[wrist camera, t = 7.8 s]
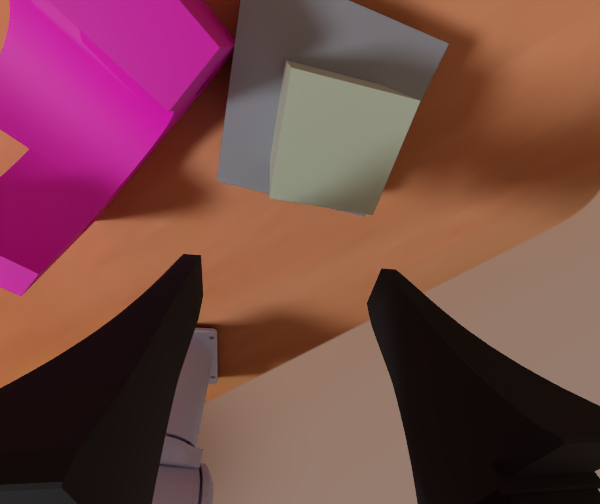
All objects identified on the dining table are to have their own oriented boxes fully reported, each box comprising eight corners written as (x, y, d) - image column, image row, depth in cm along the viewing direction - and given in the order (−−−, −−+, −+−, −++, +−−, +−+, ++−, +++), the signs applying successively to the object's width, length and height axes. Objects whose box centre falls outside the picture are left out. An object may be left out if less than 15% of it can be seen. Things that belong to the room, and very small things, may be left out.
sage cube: (349, 175, 16) (372, 215, 12) (269, 160, 15) (269, 198, 11) (379, 84, 13) (420, 100, 10) (285, 59, 12) (291, 67, 9)
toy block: (125, -98, 11) (-34, -250, 6) (241, 45, 15) (219, 47, 9) (-10, 153, 17) (-168, 215, 11) (96, 219, 20) (21, 296, 14)
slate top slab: (356, 201, 19) (364, 216, 17) (221, 168, 17) (216, 181, 15) (428, 43, 14) (448, 43, 12) (249, -33, 12) (246, -45, 10)
